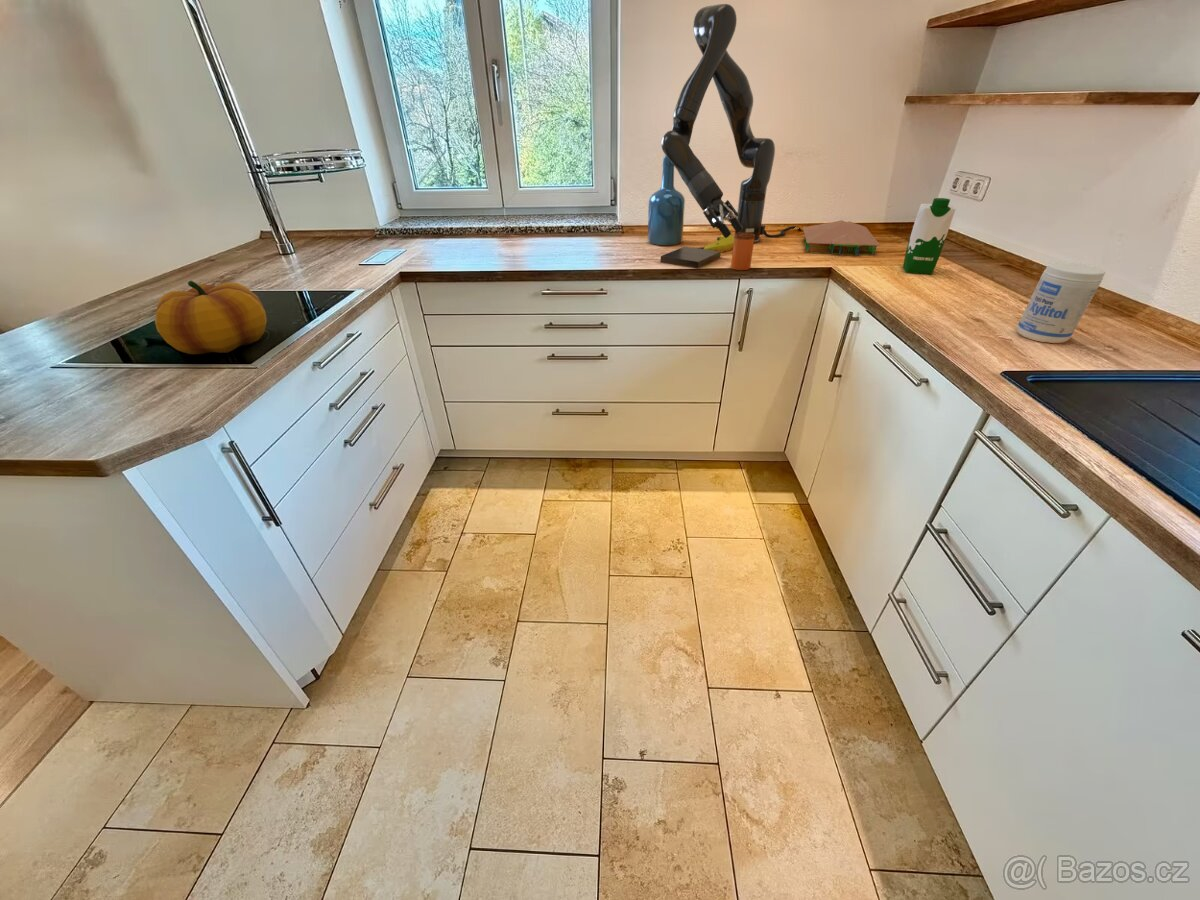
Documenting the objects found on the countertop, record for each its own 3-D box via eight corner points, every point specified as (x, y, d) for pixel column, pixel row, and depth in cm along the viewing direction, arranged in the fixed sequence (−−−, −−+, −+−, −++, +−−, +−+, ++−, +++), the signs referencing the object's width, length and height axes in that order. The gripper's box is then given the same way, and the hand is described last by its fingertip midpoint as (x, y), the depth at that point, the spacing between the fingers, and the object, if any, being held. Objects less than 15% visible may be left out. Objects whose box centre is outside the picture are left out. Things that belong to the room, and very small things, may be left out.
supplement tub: (1012, 337, 111) (1043, 268, 102) (1017, 324, 117) (1048, 258, 108) (1068, 348, 105) (1106, 276, 97) (1071, 334, 111) (1107, 265, 103)
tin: (735, 264, 165) (739, 231, 160) (753, 266, 162) (758, 233, 157) (727, 268, 161) (731, 234, 156) (745, 271, 158) (749, 237, 153)
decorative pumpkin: (254, 360, 110) (223, 290, 101) (147, 366, 109) (107, 296, 100) (293, 326, 126) (269, 264, 118) (201, 331, 125) (171, 269, 117)
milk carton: (903, 273, 152) (925, 200, 141) (899, 265, 159) (920, 195, 148) (936, 275, 150) (961, 200, 139) (930, 267, 157) (954, 196, 146)
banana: (733, 230, 189) (692, 236, 191) (739, 236, 174) (695, 244, 177) (734, 242, 191) (693, 249, 194) (740, 250, 176) (696, 257, 179)
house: (805, 254, 173) (810, 229, 169) (800, 234, 199) (804, 211, 195) (878, 257, 168) (886, 231, 163) (863, 236, 194) (869, 213, 190)
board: (684, 252, 180) (684, 246, 179) (720, 257, 173) (721, 251, 172) (660, 262, 169) (660, 256, 168) (697, 268, 162) (698, 261, 161)
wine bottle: (684, 246, 188) (691, 152, 171) (648, 246, 188) (651, 153, 171) (680, 237, 199) (685, 149, 182) (646, 238, 199) (648, 150, 182)
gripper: (702, 184, 150) (733, 229, 151) (723, 178, 159) (753, 221, 160) (685, 202, 156) (715, 246, 156) (707, 195, 165) (735, 237, 166)
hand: (734, 233), depth 158 cm, fingers open, 8 cm apart
